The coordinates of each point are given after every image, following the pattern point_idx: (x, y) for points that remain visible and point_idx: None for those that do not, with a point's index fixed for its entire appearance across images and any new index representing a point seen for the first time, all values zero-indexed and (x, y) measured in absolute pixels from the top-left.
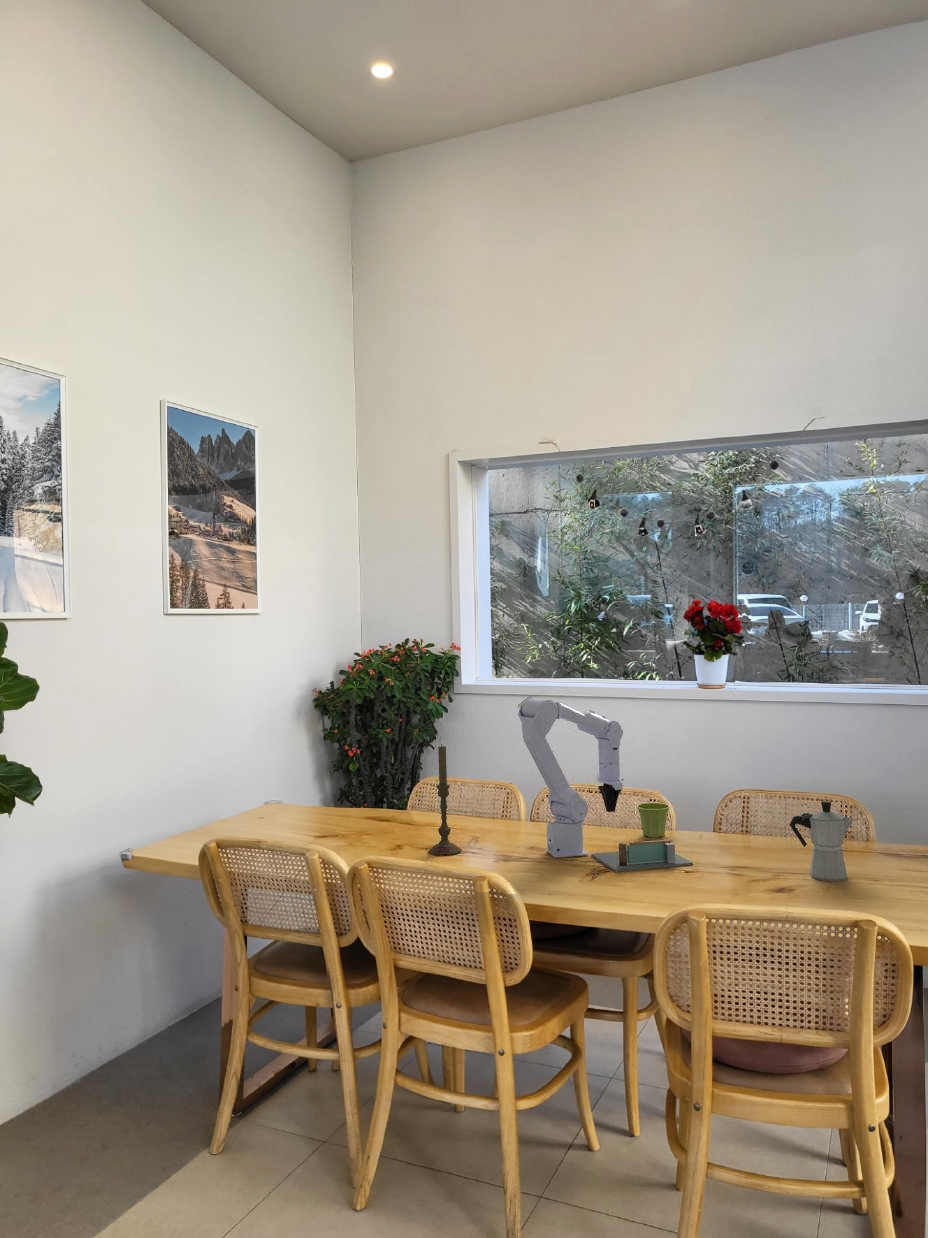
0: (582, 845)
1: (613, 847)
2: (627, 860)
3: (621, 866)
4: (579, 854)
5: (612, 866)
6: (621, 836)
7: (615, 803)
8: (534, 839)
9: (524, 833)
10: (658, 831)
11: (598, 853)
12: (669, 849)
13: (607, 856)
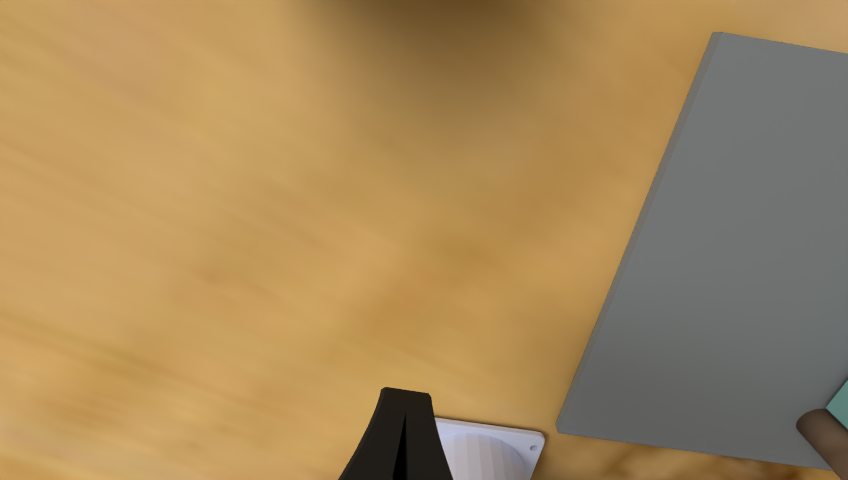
0: (515, 475)
1: (465, 273)
2: (836, 416)
3: None
4: (534, 467)
5: (794, 460)
6: (220, 82)
7: (444, 469)
8: (166, 467)
9: (38, 456)
10: None
11: (573, 410)
12: None
13: (646, 405)
